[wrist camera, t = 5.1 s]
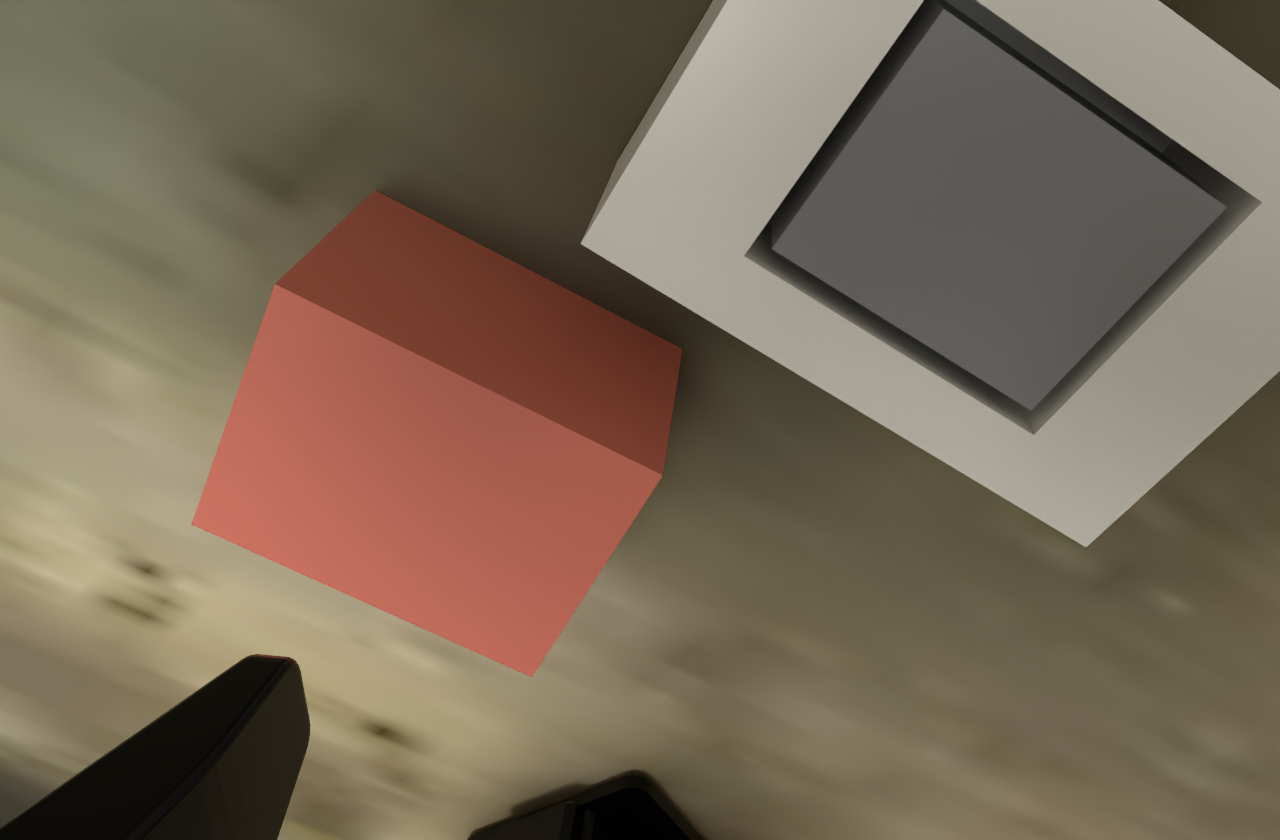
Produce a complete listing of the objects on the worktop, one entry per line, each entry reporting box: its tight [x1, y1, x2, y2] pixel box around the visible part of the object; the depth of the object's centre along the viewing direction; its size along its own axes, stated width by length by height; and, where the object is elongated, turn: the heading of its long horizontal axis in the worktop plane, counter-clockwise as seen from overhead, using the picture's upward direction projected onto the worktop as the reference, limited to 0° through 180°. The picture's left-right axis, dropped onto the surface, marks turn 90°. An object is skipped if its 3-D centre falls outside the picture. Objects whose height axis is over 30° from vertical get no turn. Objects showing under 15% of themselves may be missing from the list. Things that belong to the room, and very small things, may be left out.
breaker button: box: [771, 0, 1227, 411], centre depth 16 cm, size 5×4×3 cm
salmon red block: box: [192, 190, 682, 677], centre depth 20 cm, size 7×6×5 cm
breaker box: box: [581, 0, 1280, 547], centre depth 17 cm, size 10×7×4 cm
